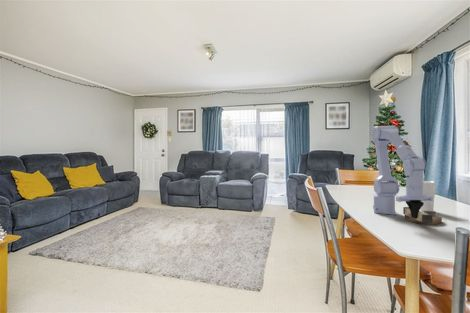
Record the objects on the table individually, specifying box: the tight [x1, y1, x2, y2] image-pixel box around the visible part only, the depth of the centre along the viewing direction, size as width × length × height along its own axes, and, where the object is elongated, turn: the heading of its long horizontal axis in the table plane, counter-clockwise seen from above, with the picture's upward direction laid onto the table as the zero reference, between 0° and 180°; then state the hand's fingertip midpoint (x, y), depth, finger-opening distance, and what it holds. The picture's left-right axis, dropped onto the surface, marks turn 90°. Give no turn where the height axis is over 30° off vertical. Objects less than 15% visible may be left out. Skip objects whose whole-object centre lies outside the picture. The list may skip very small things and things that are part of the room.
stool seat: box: [404, 210, 443, 226], centre depth 106 cm, size 13×13×4 cm
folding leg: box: [402, 206, 432, 223], centre depth 103 cm, size 14×3×3 cm, turn 176°
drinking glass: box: [419, 180, 436, 212], centre depth 120 cm, size 7×7×15 cm
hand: (414, 217), depth 100 cm, fingers closed
